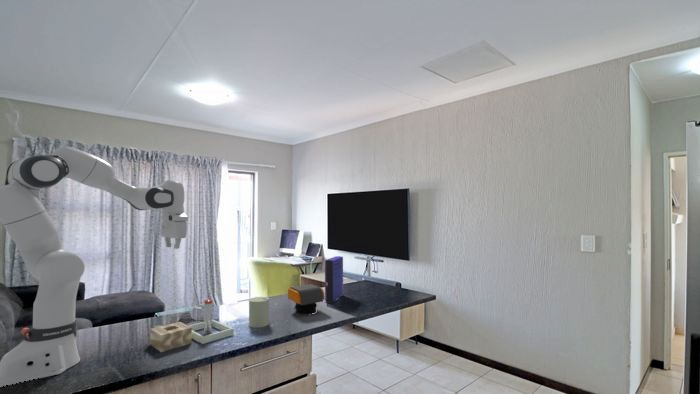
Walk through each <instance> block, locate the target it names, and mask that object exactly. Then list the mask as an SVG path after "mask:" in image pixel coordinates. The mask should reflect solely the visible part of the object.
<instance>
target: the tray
mask: <svg viewBox="0 0 700 394" xmlns="http://www.w3.org/2000/svg"><path fill="white" fill-rule="evenodd" d="M188 326H190V327H191V328H192V339H193V340H195V341H196V342H198V343H200V344H202V345H203V344H207V343H210V342H213V341H217V340H220V339H224V338H226V337H227V338H228V337H230V336H231V337H234V327H231V326H229V325H227V324H224V323H222V322H219V321H215V320H212V328H214V329H216V330H219V331H217V332H212V334H210V335H202V334H200V333H198V332H197V331H199V330H204V322H201V321H200V322H198V323H194V324H190V325H188Z"/></svg>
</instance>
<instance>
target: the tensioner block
mask: <svg viewBox="0 0 700 394" xmlns="http://www.w3.org/2000/svg"><path fill="white" fill-rule="evenodd" d="M163 325H164V326H161V325H160V327H156V328H154V327H152V328H150V334H149V335H150V339H149V340H150V342H149V343H150V346H151V347H153V348H154V349H156V350H157V351H158V352H160V353H164V352H167V351H170V350H174V349H177V348H181V347H184V346H186V345H190V344H192V341H193V340H192V339H193V338H192V328H191V327H190V326H189V325H187V323H185V324H184V323H182V322H178V321H177V322H176V323H172V324H170V323H169V324H163Z"/></svg>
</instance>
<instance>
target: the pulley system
mask: <svg viewBox="0 0 700 394" xmlns="http://www.w3.org/2000/svg"><path fill="white" fill-rule="evenodd" d="M179 315H180V316H179V317H178V314H175V313H174V314H170V315H169V318H170V319H169V324H172V323H176V322H182V323H184V324H192V323H194V322H198V321H199V322H200V323H201V322H204V315H197V316H196V319H194V318H193V315H192V313H191V312H183V313H180V314H179ZM212 320H215V321H217V322H219V317H214V318H213V317H212ZM164 325H165V324H163V325H159V324H158V325H153V328H156V327H160V326H164Z"/></svg>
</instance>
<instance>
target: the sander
mask: <svg viewBox="0 0 700 394" xmlns="http://www.w3.org/2000/svg"><path fill="white" fill-rule="evenodd" d="M287 299H288V300H290V301H292V302H294V303H295V305H294V308H295V310H294V314H295V315H296V314H299V315H298V316H310V315H309V314H312V313H315V312H316V309H317V307H318V305H317V303H323V302H324V300H325V290H324V289H323V288H322V287H320V286H318V285H315V284H313V283H308V284H303V285H301V284H300V285H296V286H294V285H292V286H290V287H289V288H288V290H287ZM315 314H316V313H315Z"/></svg>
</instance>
